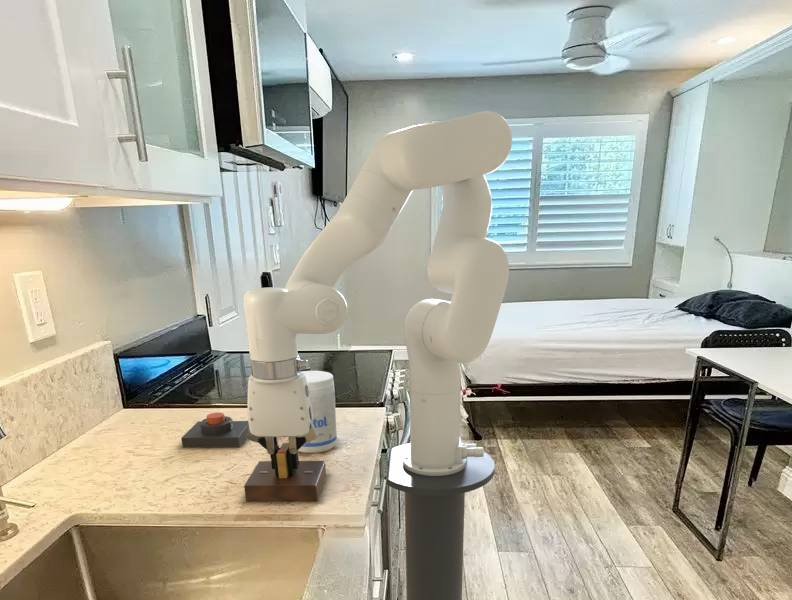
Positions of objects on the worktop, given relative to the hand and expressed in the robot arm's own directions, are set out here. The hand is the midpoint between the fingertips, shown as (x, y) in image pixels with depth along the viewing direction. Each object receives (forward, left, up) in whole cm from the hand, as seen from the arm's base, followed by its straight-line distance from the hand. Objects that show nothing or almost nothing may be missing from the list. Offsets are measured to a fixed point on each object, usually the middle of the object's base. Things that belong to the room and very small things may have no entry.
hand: (286, 471), depth 98 cm
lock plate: (0, 0, -3) cm, 3 cm away
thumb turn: (0, 0, 0) cm, 0 cm away
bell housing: (+20, -24, -3) cm, 31 cm away
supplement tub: (-2, -20, -3) cm, 20 cm away
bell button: (+20, -24, 0) cm, 31 cm away
